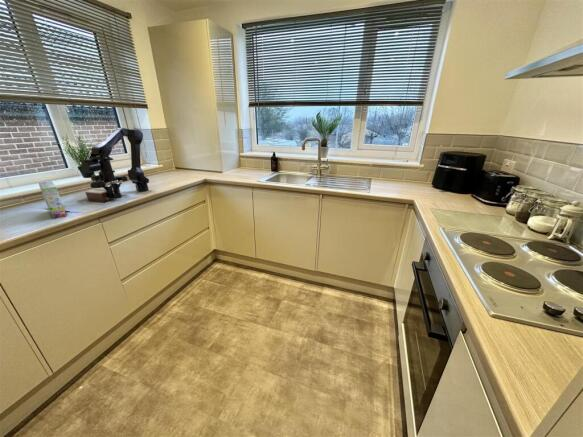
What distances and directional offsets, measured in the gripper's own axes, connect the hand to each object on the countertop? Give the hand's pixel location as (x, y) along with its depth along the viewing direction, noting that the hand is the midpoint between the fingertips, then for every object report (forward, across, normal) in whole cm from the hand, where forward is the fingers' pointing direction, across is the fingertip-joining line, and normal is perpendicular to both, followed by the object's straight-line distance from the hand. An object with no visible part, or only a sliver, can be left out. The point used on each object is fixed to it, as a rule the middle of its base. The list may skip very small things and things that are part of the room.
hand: (114, 196), depth 140 cm
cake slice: (+2, +2, -11) cm, 11 cm away
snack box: (+3, +22, -14) cm, 26 cm away
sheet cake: (+2, -5, -10) cm, 12 cm away
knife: (+1, 0, -5) cm, 5 cm away
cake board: (+3, -1, -10) cm, 11 cm away
